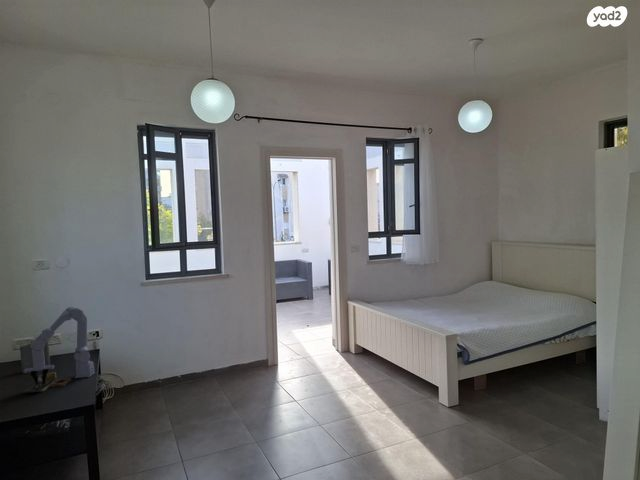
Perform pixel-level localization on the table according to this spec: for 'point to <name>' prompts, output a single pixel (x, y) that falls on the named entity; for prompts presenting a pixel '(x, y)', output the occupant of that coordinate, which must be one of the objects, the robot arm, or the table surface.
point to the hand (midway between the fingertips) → (40, 382)
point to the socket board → (44, 387)
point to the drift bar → (49, 379)
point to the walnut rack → (60, 382)
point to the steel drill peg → (40, 380)
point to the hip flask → (27, 356)
